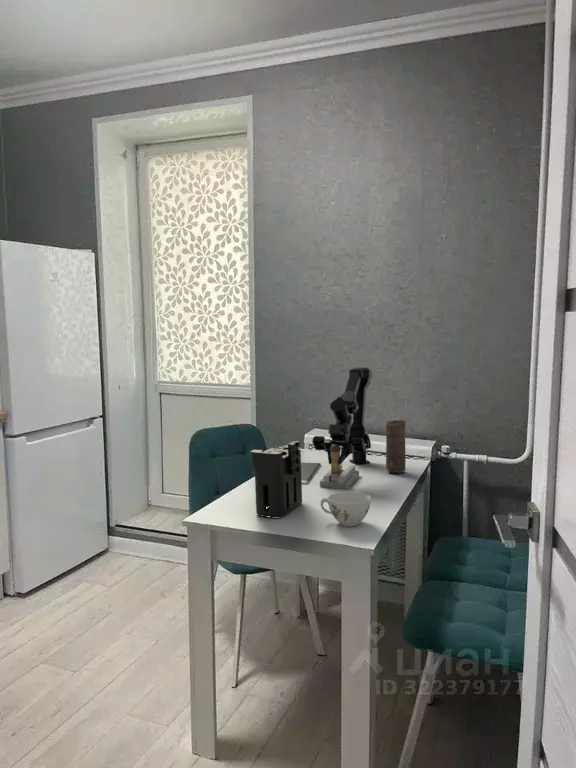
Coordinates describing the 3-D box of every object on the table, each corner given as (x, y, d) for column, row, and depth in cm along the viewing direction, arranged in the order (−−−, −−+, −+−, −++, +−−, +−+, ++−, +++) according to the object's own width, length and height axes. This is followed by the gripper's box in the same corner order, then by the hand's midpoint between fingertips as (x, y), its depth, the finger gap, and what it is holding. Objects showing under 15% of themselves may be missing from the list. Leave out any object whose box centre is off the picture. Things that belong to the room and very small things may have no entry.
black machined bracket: (252, 517, 178) (249, 446, 175) (281, 497, 196) (279, 433, 194) (286, 521, 173) (284, 449, 170) (313, 501, 191) (312, 435, 189)
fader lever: (332, 477, 210) (331, 442, 208) (342, 478, 209) (341, 443, 207) (329, 480, 206) (328, 445, 205) (339, 481, 205) (338, 445, 204)
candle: (407, 474, 218) (406, 422, 216) (387, 475, 218) (387, 423, 216) (403, 469, 226) (403, 418, 223) (384, 470, 226) (384, 419, 223)
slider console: (333, 474, 222) (333, 463, 222) (359, 475, 219) (359, 465, 218) (319, 486, 207) (319, 475, 206) (347, 488, 203) (346, 477, 202)
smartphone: (272, 484, 213) (272, 480, 213) (289, 465, 239) (289, 461, 239) (307, 486, 210) (307, 481, 210) (321, 466, 236) (321, 462, 236)
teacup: (375, 518, 173) (375, 492, 172) (365, 533, 162) (364, 505, 161) (327, 513, 179) (327, 488, 178) (314, 527, 167) (313, 500, 166)
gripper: (313, 414, 212) (303, 450, 203) (363, 415, 205) (355, 453, 196) (320, 431, 220) (311, 466, 211) (368, 433, 213) (361, 470, 204)
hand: (334, 464), depth 206 cm, fingers closed on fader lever, 3 cm apart
